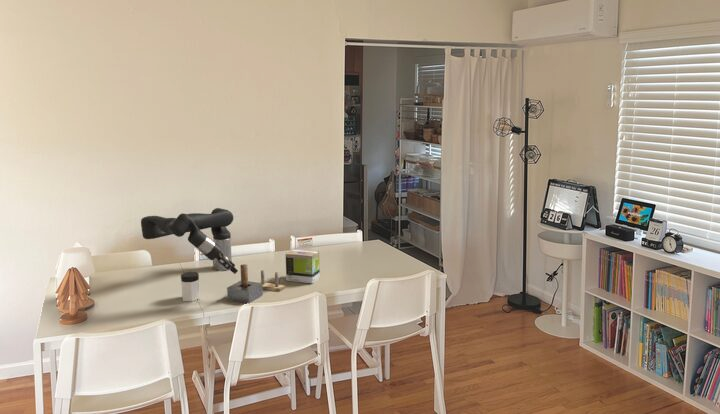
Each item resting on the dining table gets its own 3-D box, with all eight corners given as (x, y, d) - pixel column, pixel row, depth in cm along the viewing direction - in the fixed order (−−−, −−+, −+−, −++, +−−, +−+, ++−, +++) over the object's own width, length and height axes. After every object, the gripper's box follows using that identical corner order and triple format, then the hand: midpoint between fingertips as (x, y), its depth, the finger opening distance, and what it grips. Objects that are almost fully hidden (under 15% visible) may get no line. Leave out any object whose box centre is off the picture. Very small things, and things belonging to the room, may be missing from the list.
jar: (194, 294, 300) (192, 270, 297) (204, 297, 295) (202, 273, 292) (178, 299, 293) (176, 274, 290) (188, 303, 288) (186, 278, 285)
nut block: (227, 299, 292) (226, 287, 291) (241, 291, 303) (241, 280, 301) (249, 303, 287) (248, 291, 286) (262, 295, 298) (262, 283, 297)
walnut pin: (240, 294, 294) (239, 265, 291) (244, 292, 297) (242, 264, 294) (246, 295, 293) (244, 266, 290) (249, 292, 295) (248, 264, 292)
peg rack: (255, 287, 308) (254, 271, 307) (260, 284, 313) (260, 268, 311) (279, 291, 303) (279, 275, 301) (284, 288, 308) (284, 272, 306)
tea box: (320, 278, 323) (319, 251, 320) (312, 284, 314) (312, 256, 311) (294, 275, 328) (293, 248, 325) (285, 281, 319) (284, 253, 316)
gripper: (201, 249, 290) (227, 271, 296) (204, 258, 277) (231, 280, 283) (213, 238, 291) (238, 259, 297) (216, 245, 277) (243, 268, 284)
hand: (235, 269), depth 290 cm, fingers open, 8 cm apart
